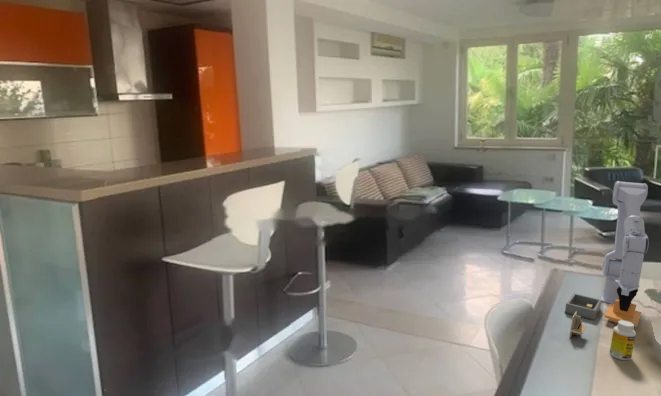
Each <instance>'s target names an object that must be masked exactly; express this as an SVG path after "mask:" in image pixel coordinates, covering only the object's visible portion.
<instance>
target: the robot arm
mask: <svg viewBox="0 0 661 396" xmlns="http://www.w3.org/2000/svg"><path fill="white" fill-rule="evenodd" d="M648 189H649V187H648V184H647V183H645V182H644V183H641V182H629V181H627V182H626V181H620V180H617V181H615V182H614V185H613V192H612V204H613V205H615V206H617V219H616V226H615V227H616V229H615V238H614V246H613V247H614V248H613V250H612V251H611V252H608V253H606V254H605V256H604V258H603V259H604V260H603V262H602V274H603V275H604V276H605V281H604V286H603V287H604V288H603V294H602V295H601V297H600V298H599V300H602V301H601V302H602V303H603V302H604V303H607V304H615V300H616V299H617V300H619V305H620V310H622V311H626V312H627V311H628V309H629V306H630V304H631V303H632V301H633V299H634V298H635V297H636V296H637V295H638V294H637V293H638V292H639V288H640V281H641V274H642V269H643V264H644V263H643V262H644V258H645V257H644V256H645V255H646V254H647V252H648V249H649V244H650V243H649V242H650V241H649V237H648V234H647V233H646V231H645V221H644V219H643V217H640V216H641V206H642V205H643V204H644V202H645V200H646V199H647V197H648V194H649V192H648Z"/></svg>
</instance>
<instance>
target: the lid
mask: <svg viewBox="0 0 661 396" xmlns="http://www.w3.org/2000/svg"><path fill="white" fill-rule="evenodd" d="M636 309H637V304H635V303H632V302H631V304H630V306H629V309H628V311H627V312H626V311H622V310H620V305H619V300H617V299H616V300H615V304H611V303H609V306H608V308H607V310H606V312H605V313H604V315H603V316H604V317H603V318H605V319H608V321H609V322H614V323H615V324H618V321H620V320H624V321H628V322H631V323H633V324H634V328H637V327H638V324H639V322H640V319H641V316H642V312H641V311H638V310H636Z"/></svg>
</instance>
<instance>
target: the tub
mask: <svg viewBox="0 0 661 396" xmlns="http://www.w3.org/2000/svg"><path fill="white" fill-rule="evenodd" d="M602 302H603V301H602V300H600V298H599V299H598V298H595V297H591V296H587V295H582V294H579V293H575V292H574V293H572V295H571V296H570V298H569V299H568V300H567V302H566V303H565V310H564V314H567V315H571V316H574V314H575V312H576V311H577V314H576V315H577V316H581V319H585V320H589V321H593V322H594V321H595V319H596V317H597V316H598V314H599V312H600V310H601V307H602Z"/></svg>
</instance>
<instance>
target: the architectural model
mask: <svg viewBox="0 0 661 396" xmlns="http://www.w3.org/2000/svg"><path fill="white" fill-rule="evenodd" d="M576 314H577V311H576V312H575V314H574V315H572V319H571V324H570V332H569V336H568V337H569V339H572V338H571V337H572V336H573V335H575V336H579V334H580V335H583V334H584V331H585V330H586V328H587V325H586V324H582V323H583V320H582V317H581V316H577V315H576Z"/></svg>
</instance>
